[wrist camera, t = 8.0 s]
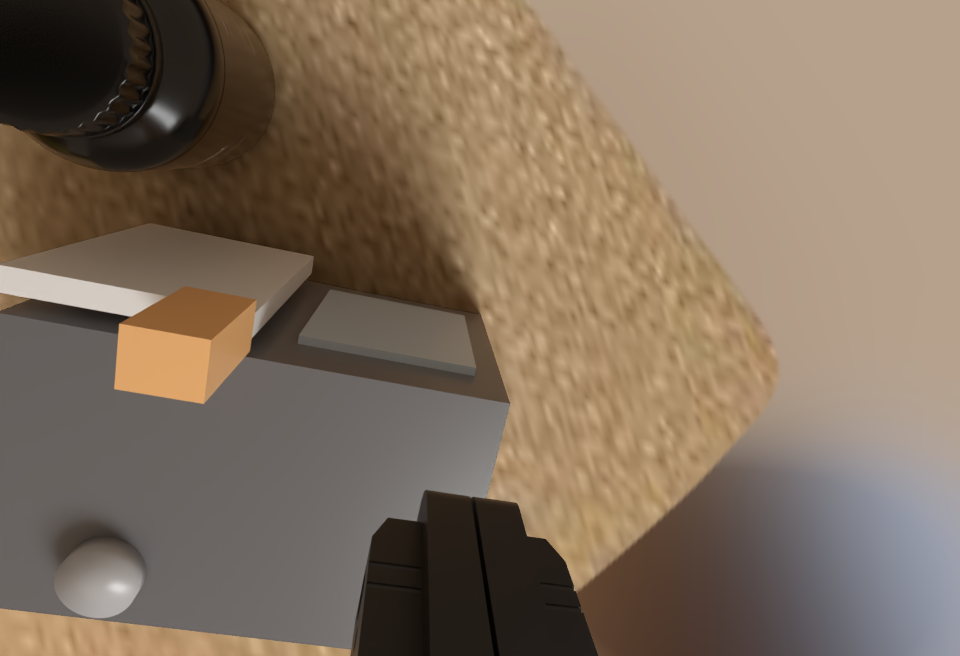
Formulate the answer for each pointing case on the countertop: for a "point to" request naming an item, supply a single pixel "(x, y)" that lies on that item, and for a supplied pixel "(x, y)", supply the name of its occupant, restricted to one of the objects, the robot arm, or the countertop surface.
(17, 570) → the box
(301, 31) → the countertop surface
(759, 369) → the countertop surface
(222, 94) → the supplement bottle
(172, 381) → the door
